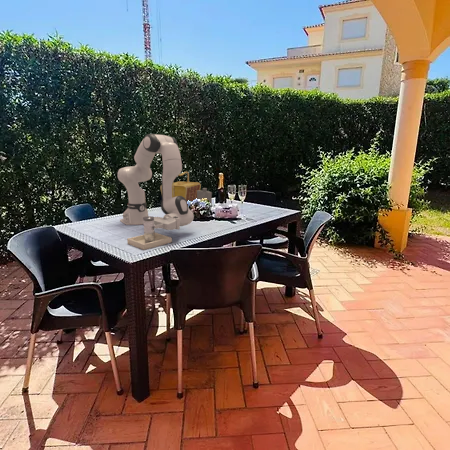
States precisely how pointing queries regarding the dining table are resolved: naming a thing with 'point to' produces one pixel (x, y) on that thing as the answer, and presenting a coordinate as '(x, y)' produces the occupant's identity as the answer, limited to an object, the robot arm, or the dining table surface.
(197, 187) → the picnic basket
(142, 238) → the sand tray
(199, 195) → the hip flask
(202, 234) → the dining table surface
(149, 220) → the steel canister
